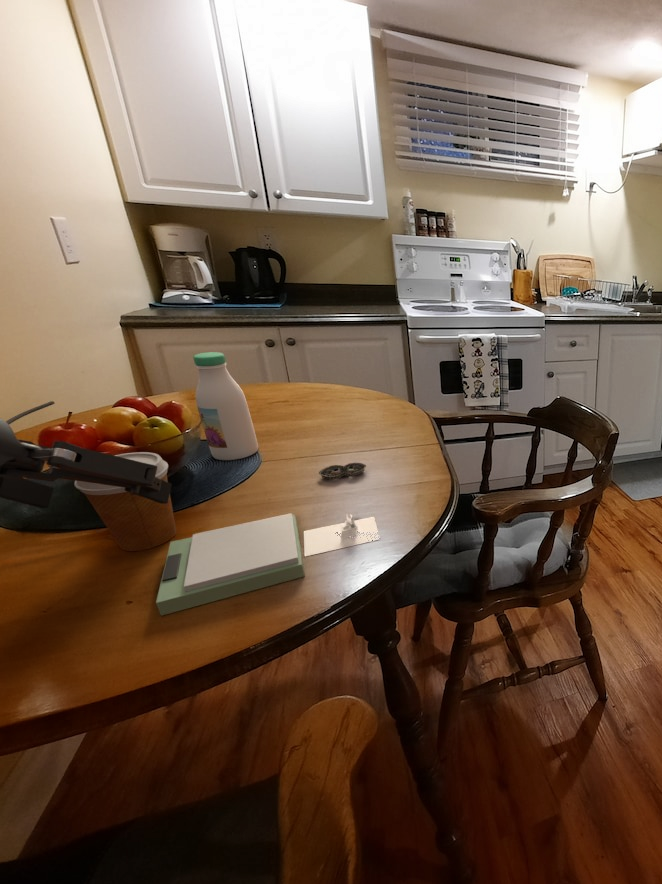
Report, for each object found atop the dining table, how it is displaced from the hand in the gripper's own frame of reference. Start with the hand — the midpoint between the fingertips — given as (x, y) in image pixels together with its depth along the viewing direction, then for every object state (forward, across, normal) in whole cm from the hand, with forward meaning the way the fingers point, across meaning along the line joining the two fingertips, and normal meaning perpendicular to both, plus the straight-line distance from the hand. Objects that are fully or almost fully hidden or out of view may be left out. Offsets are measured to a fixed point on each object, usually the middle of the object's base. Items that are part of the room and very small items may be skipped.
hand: (108, 495), depth 65 cm
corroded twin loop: (+22, +21, +9) cm, 32 cm away
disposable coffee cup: (+9, 0, -4) cm, 10 cm away
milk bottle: (+30, -2, +17) cm, 35 cm away
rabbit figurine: (+8, +27, -5) cm, 28 cm away
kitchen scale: (+4, +15, -9) cm, 18 cm away
